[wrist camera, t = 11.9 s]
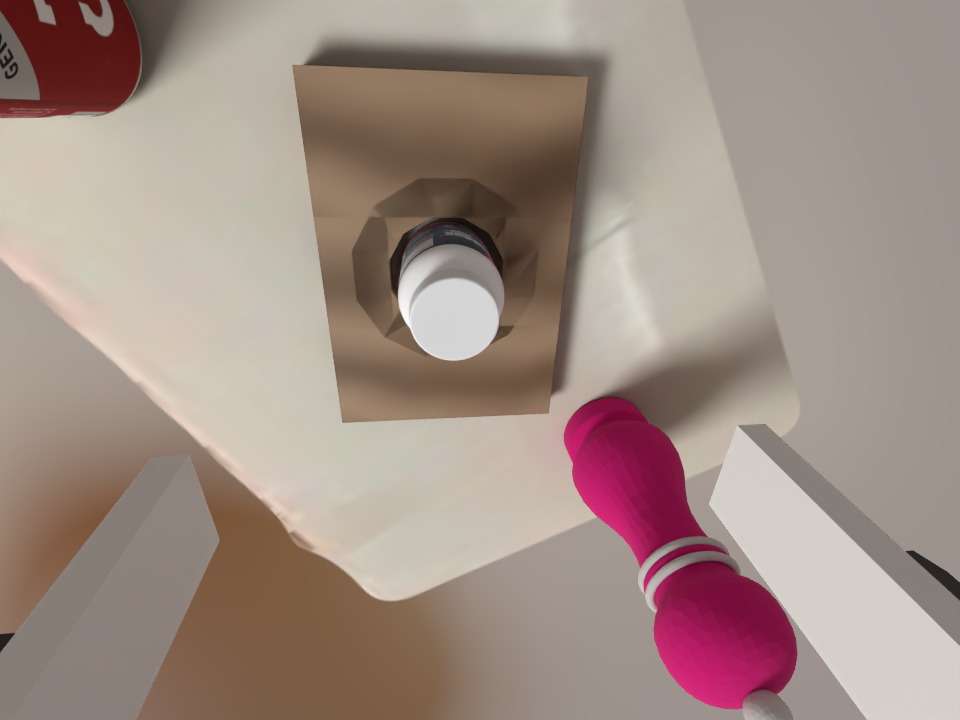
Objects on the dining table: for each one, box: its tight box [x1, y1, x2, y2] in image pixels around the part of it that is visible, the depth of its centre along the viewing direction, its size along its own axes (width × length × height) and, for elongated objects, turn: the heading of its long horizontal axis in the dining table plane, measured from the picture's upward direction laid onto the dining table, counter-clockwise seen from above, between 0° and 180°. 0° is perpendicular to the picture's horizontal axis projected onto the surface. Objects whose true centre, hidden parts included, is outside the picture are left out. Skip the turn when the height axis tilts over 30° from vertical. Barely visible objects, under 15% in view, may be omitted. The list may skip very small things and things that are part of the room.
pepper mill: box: [564, 398, 797, 720], centre depth 27 cm, size 7×7×20 cm
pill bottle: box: [398, 222, 504, 361], centre depth 24 cm, size 5×5×9 cm
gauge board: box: [292, 65, 588, 423], centre depth 27 cm, size 20×14×2 cm
